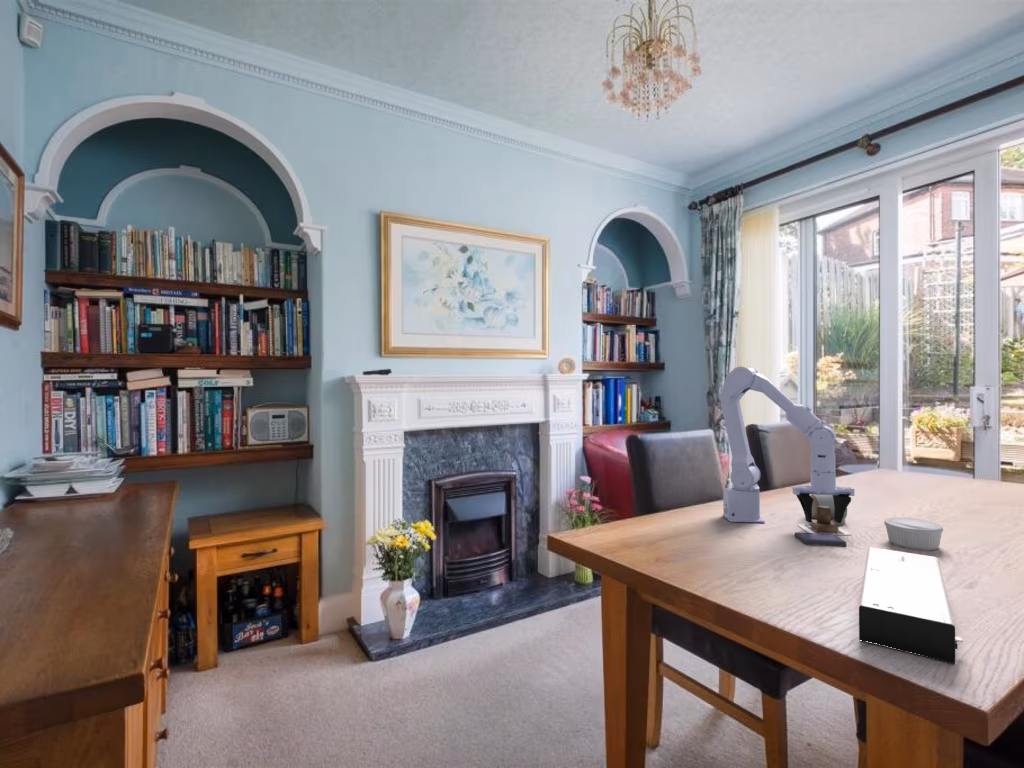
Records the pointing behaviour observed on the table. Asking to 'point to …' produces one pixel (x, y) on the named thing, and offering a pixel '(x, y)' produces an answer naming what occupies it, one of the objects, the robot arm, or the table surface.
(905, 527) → the ramekin
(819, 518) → the stamp
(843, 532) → the paper
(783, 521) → the table surface
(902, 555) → the white and black box
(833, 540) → the ink pad
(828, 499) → the ceramic mug
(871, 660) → the table surface
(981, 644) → the table surface
